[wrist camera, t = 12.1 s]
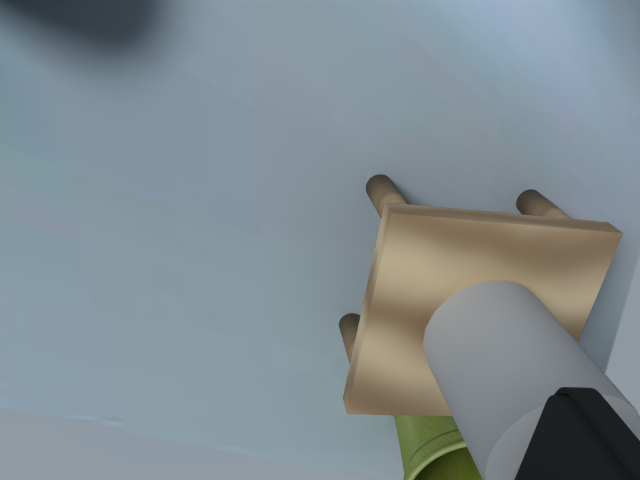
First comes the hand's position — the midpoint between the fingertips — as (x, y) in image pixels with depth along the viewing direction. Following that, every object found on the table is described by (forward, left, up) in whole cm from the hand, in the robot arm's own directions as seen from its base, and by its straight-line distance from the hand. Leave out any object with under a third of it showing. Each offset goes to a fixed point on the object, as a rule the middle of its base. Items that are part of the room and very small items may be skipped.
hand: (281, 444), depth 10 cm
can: (+11, +15, -20) cm, 28 cm away
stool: (+11, +15, -28) cm, 34 cm away
